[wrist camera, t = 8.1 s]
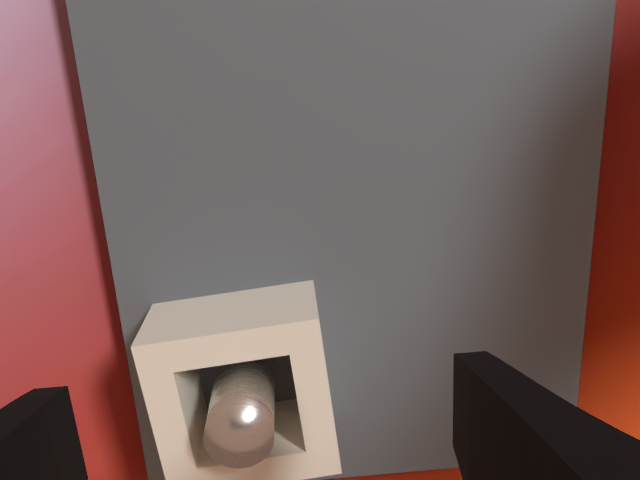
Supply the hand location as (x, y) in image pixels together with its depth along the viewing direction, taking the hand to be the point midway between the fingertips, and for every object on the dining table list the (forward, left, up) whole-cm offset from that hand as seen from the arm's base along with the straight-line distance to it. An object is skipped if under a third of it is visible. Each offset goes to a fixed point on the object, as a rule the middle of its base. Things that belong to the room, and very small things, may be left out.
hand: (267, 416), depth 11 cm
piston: (+1, +4, -9) cm, 10 cm away
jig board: (-3, -3, -10) cm, 10 cm away
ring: (+1, +4, -9) cm, 10 cm away
